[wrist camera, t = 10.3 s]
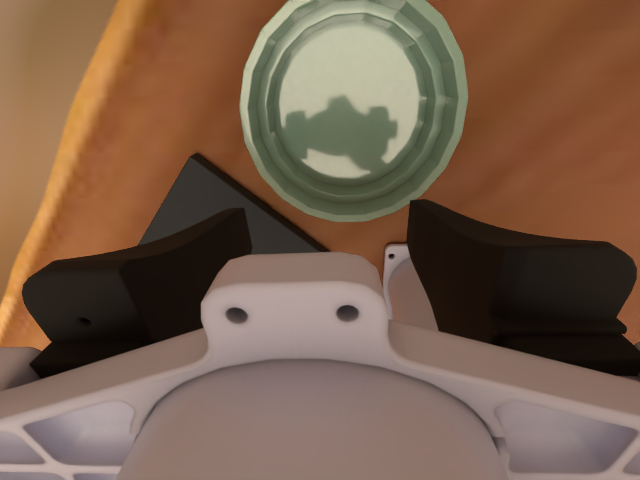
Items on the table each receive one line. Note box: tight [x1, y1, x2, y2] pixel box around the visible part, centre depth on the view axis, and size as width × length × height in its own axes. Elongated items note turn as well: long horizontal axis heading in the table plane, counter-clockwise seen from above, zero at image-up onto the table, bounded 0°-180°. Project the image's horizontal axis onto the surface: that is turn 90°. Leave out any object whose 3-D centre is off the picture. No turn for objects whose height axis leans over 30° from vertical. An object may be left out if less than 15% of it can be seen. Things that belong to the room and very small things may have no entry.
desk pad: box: [138, 153, 329, 255], centre depth 27 cm, size 20×13×1 cm, turn 141°
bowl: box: [239, 0, 468, 222], centre depth 18 cm, size 12×12×4 cm
